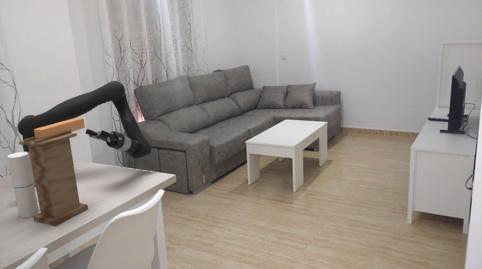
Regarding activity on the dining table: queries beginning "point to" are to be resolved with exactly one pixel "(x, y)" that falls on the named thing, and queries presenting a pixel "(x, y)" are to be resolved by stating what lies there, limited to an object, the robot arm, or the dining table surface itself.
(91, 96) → the robot arm
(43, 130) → the orange bar
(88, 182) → the dining table surface
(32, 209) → the cylindrical container
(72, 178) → the walnut stand
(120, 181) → the dining table surface
